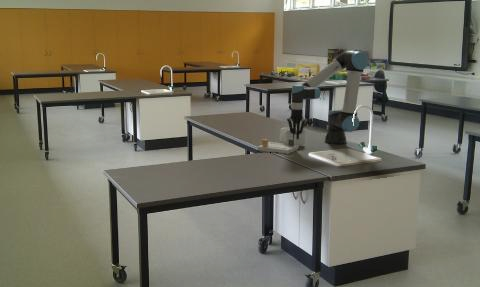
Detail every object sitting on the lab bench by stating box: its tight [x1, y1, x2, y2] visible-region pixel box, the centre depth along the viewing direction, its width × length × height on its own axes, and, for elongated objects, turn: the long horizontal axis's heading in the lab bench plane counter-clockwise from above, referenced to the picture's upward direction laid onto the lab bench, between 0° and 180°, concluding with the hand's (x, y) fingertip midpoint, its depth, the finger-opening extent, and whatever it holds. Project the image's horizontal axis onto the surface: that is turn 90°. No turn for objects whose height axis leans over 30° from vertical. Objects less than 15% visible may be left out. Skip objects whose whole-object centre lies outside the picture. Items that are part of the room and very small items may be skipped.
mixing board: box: [257, 141, 300, 155], centre depth 352 cm, size 22×17×3 cm
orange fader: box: [261, 138, 269, 146], centre depth 350 cm, size 3×3×4 cm
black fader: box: [288, 138, 294, 146], centre depth 353 cm, size 3×3×4 cm
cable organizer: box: [279, 126, 306, 147], centre depth 366 cm, size 15×11×12 cm
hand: (295, 143), depth 351 cm, fingers closed
